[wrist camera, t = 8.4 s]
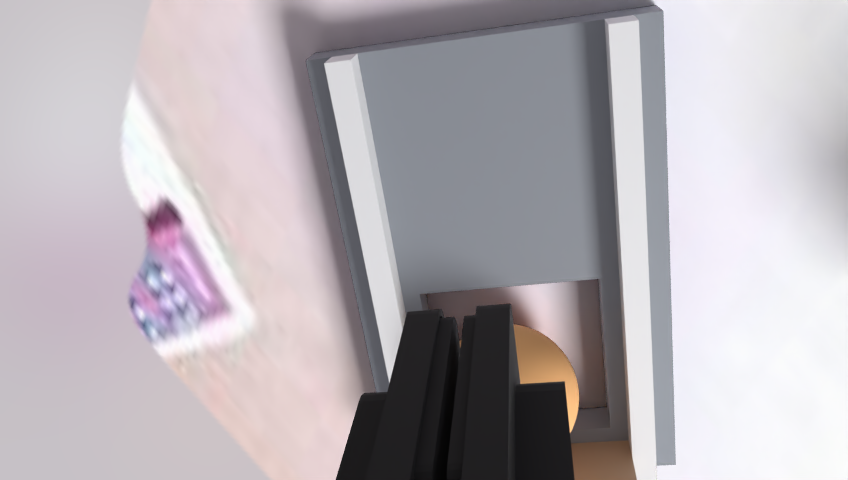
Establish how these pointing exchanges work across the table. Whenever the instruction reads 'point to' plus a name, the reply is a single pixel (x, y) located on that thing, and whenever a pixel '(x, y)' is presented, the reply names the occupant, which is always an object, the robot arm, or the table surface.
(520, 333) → the ball
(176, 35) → the table surface
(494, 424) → the robot arm
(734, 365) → the table surface
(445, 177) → the railed grey tray
